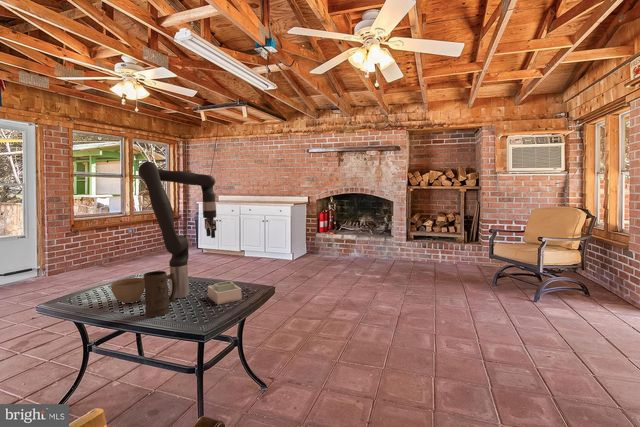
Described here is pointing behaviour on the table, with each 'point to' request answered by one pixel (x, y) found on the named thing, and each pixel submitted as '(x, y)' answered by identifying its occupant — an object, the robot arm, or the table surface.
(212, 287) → the big crate
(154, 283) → the beer stein
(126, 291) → the planter bowl
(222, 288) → the small crate
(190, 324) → the table surface
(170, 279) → the robot arm
